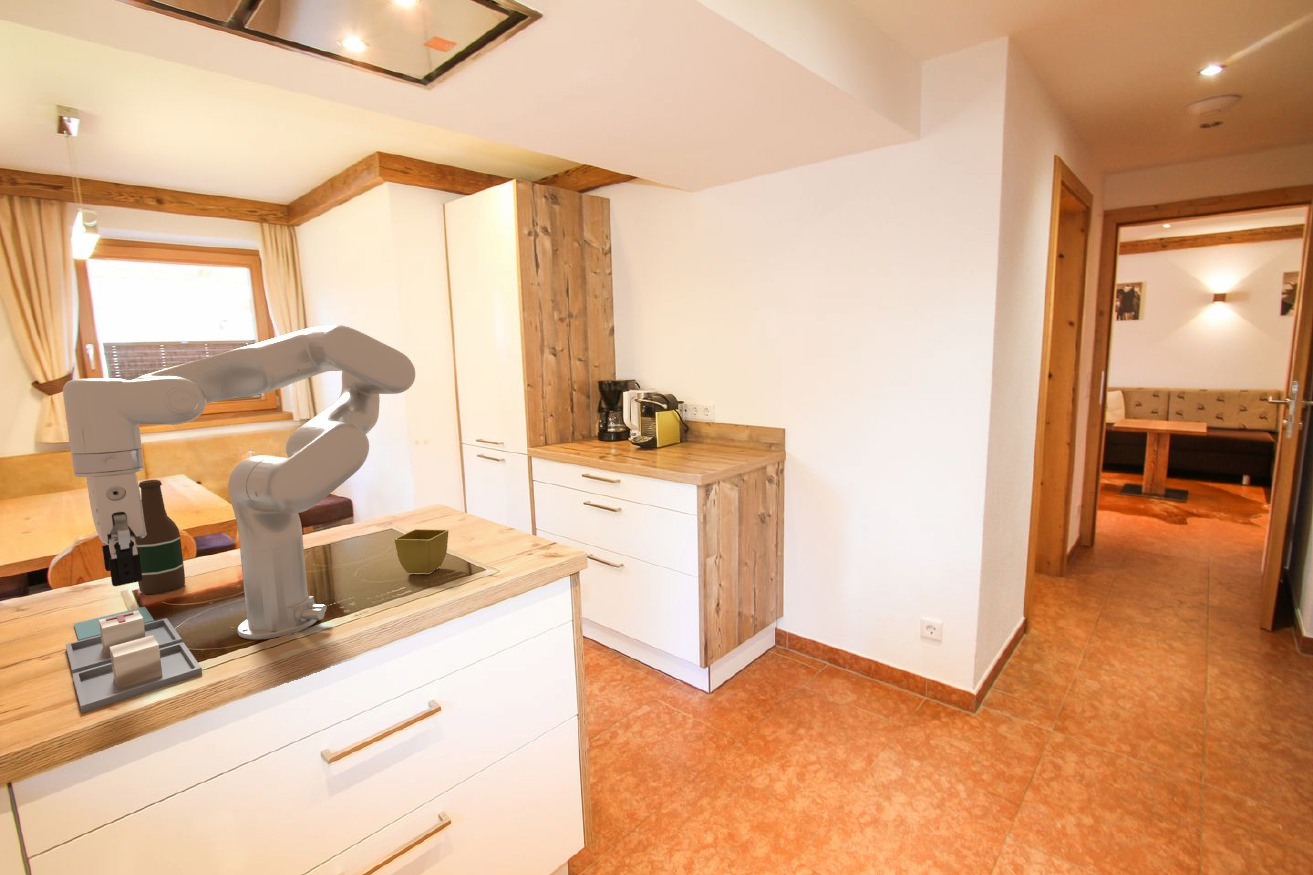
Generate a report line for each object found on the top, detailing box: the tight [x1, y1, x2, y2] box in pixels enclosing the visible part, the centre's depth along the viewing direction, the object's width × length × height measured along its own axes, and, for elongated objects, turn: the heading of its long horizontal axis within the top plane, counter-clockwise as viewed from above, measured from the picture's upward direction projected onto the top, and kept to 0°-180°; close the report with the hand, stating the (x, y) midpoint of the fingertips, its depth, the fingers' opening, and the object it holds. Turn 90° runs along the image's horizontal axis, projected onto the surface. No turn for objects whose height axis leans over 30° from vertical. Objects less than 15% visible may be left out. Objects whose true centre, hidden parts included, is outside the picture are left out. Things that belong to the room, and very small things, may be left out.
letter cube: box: [99, 611, 145, 657], centre depth 97 cm, size 5×5×5 cm
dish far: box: [65, 617, 183, 675], centre depth 98 cm, size 13×13×1 cm
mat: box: [73, 606, 155, 641], centre depth 107 cm, size 10×10×1 cm
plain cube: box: [110, 635, 163, 690], centre depth 88 cm, size 5×5×5 cm
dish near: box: [72, 641, 203, 714], centre depth 88 cm, size 13×13×1 cm
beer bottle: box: [134, 479, 186, 596], centre depth 124 cm, size 8×8×24 cm
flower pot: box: [394, 528, 449, 574], centre depth 133 cm, size 9×9×9 cm
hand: (123, 575), depth 86 cm, fingers open, 9 cm apart
